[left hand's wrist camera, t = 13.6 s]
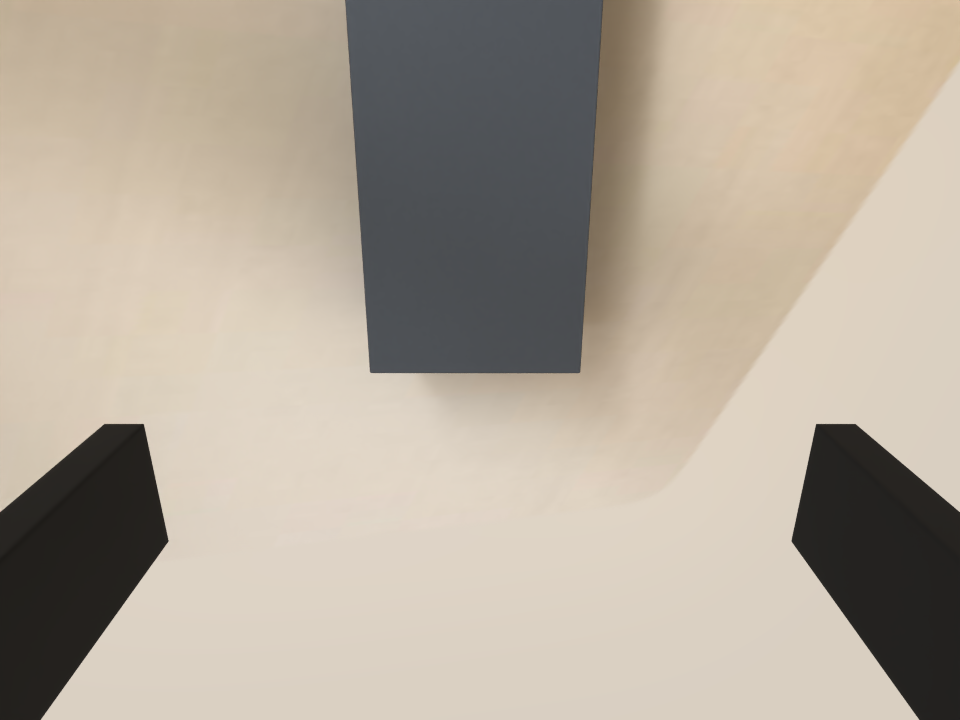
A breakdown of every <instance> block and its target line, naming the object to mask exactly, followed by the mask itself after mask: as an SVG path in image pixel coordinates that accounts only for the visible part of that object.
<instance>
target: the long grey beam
mask: <svg viewBox="0 0 960 720" xmlns="http://www.w3.org/2000/svg"><path fill="white" fill-rule="evenodd" d="M345 3H346V18H347V33H348V48H349V63H350V78H351V93H352V108H353V123H354V138H355V153H356V168H357V183H358V198H359V213H360V228H361V243H362V258H363V273H364V288H365V303H366V318H367V333H368V348H369V363H370V372H371V373H580V367H581V350H582V334H583V318H584V302H585V286H586V269H587V253H588V237H589V221H590V205H591V189H592V172H593V156H594V140H595V124H596V108H597V91H598V75H599V59H600V43H601V27H602V11H603V0H345Z"/></svg>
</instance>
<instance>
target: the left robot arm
mask: <svg viewBox="0 0 960 720" xmlns="http://www.w3.org/2000/svg"><path fill="white" fill-rule="evenodd" d="M167 543H168V536H167V532H166V527H165V522H164V518H163V513H162V508H161V503H160V499H159V494H158V489H157V484H156V480H155V475H154V470H153V465H152V461H151V456H150V451H149V447H148V442H147V437H146V432H145V428H144V424H104V425H103V426H102V427H101V428H99V429H98V430H97V431H96V432H95V433H93V434H92V435H91V436H90V437H89V438H88V439H86V440H85V441H84V442H83V443H82V444H80V445H79V446H78V447H77V448H76V449H74V450H73V451H72V452H71V453H70V454H69V455H67V456H66V457H65V458H64V459H63V460H61V461H60V462H59V463H58V464H57V465H56V466H54V467H53V468H52V469H51V470H50V471H48V472H47V473H46V474H45V475H44V476H43V477H41V478H40V479H39V480H38V481H37V482H35V483H34V484H33V485H32V486H31V487H30V488H28V489H27V490H26V491H25V492H24V493H22V494H21V495H20V496H19V497H18V498H17V499H15V500H14V501H13V502H12V503H11V504H9V505H8V506H7V507H6V508H5V509H4V510H2V511H1V512H0V720H41V718H42V717H43V716H44V714H45V713H46V711H47V710H48V709H49V707H50V706H51V705H52V703H53V702H54V700H55V699H56V698H57V696H58V695H59V693H60V692H61V691H62V689H63V688H64V686H65V685H66V684H67V682H68V681H69V679H70V678H71V677H72V675H73V674H74V672H75V671H76V670H77V668H78V667H79V665H80V664H81V663H82V661H83V660H84V658H85V657H86V656H87V654H88V653H89V651H90V650H91V649H92V647H93V646H94V645H95V643H96V642H97V640H98V639H99V638H100V636H101V635H102V633H103V632H104V631H105V629H106V628H107V626H108V625H109V624H110V622H111V621H112V619H113V618H114V616H115V615H116V614H117V612H118V611H119V610H120V608H121V607H122V605H123V604H124V603H125V601H126V600H127V598H128V597H129V596H130V594H131V593H132V591H133V590H134V589H135V587H136V586H137V585H138V583H139V582H140V580H141V579H142V578H143V576H144V575H145V573H146V572H147V570H148V569H149V568H150V566H151V565H152V564H153V562H154V561H155V559H156V558H157V557H158V555H159V554H160V552H161V551H162V550H163V548H164V547H165V545H166V544H167ZM792 543H793V544H794V545H795V547H796V548H797V550H798V551H799V552H800V554H801V555H802V557H803V558H804V559H805V561H806V562H807V564H808V565H809V566H810V568H811V569H812V571H813V572H814V573H815V575H816V576H817V578H818V579H819V580H820V582H821V583H822V585H823V586H824V587H825V589H826V590H827V592H828V593H829V594H830V596H831V597H832V598H833V600H834V601H835V603H836V604H837V605H838V607H839V608H840V610H841V611H842V612H843V614H844V615H845V617H846V618H847V619H848V621H849V622H850V624H851V625H852V626H853V628H854V629H855V630H856V632H857V633H858V635H859V636H860V638H861V639H862V640H863V642H864V643H865V645H866V646H867V647H868V649H869V650H870V651H871V653H872V654H873V656H874V657H875V658H876V660H877V661H878V663H879V664H880V665H881V667H882V668H883V670H884V671H885V672H886V674H887V675H888V677H889V678H890V679H891V681H892V682H893V684H894V685H895V686H896V688H897V689H898V691H899V692H900V693H901V695H902V696H903V698H904V699H905V700H906V702H907V703H908V705H909V706H910V707H911V709H912V710H913V712H914V713H915V714H916V716H917V717H918V718H919V720H960V512H959V511H958V510H956V509H955V508H954V507H953V506H952V505H951V504H949V503H948V502H947V501H946V500H945V499H943V498H942V497H941V496H940V495H939V494H937V493H936V492H935V491H934V490H933V489H932V488H930V487H929V486H928V485H927V484H926V483H925V482H923V481H922V480H921V479H920V478H919V477H917V476H916V475H915V474H914V473H913V472H912V471H910V470H909V469H908V468H907V467H906V466H904V465H903V464H902V463H901V462H900V461H899V460H897V459H896V458H895V457H894V456H893V455H891V454H890V453H889V452H888V451H887V450H885V449H884V448H883V447H882V446H881V445H880V444H878V443H877V442H876V441H875V440H874V439H872V438H871V437H870V436H869V435H868V434H867V433H865V432H864V431H863V430H862V429H861V428H859V427H858V426H857V425H856V424H816V428H815V432H814V437H813V442H812V447H811V451H810V456H809V461H808V465H807V470H806V475H805V480H804V484H803V489H802V494H801V499H800V503H799V508H798V513H797V518H796V522H795V527H794V532H793V536H792Z"/></svg>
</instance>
